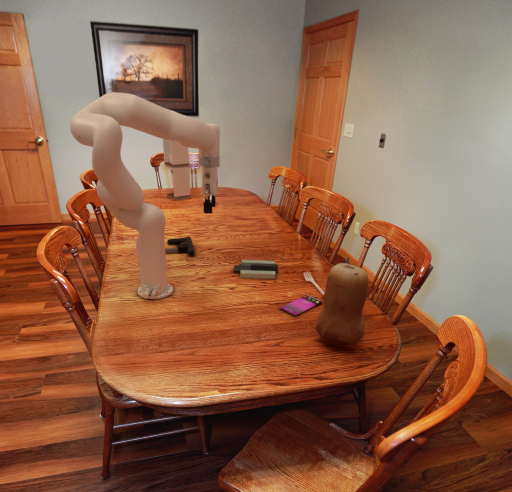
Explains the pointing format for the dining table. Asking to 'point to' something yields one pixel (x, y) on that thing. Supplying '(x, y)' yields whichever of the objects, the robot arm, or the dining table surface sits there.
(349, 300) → the butternut squash
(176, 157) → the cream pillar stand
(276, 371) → the dining table surface
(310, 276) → the fork
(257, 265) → the spatula
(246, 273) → the spoon rest
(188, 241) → the submachine gun
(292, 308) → the smartphone
